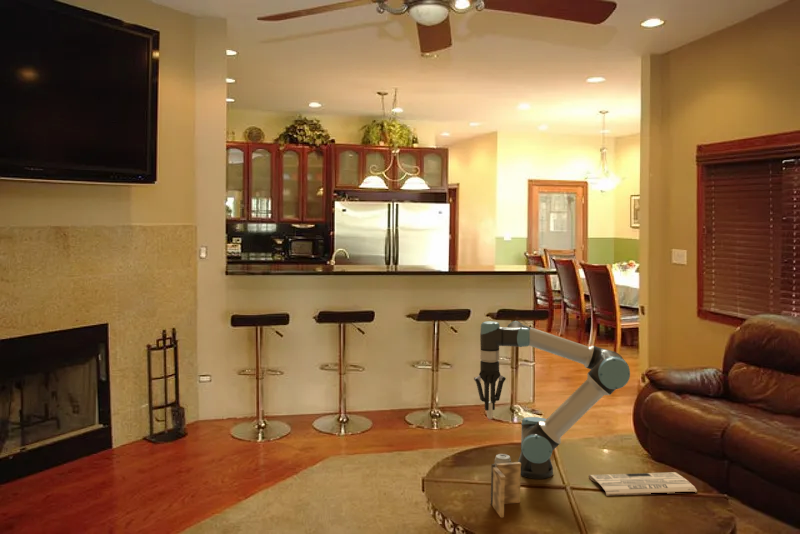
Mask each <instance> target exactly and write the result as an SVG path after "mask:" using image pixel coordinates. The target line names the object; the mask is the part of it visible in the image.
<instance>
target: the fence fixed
mask: <svg viewBox="0 0 800 534" xmlns="http://www.w3.org/2000/svg"><path fill="white" fill-rule="evenodd" d="M504 489H505V476H504V475H503V474H502V472H501V471H500V470H499V469H498V468H497V467H493V505H492V507H493V509H494V511H495V512H496V513H497V514H498V516H499V517H500V518H505V504H504Z"/></svg>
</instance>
